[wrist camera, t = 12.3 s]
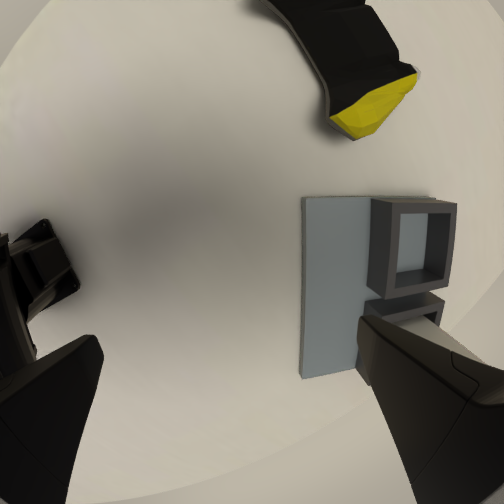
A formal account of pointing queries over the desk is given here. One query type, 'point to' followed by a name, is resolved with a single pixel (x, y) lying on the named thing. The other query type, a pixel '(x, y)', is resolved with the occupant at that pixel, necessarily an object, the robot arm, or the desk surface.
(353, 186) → the desk surface
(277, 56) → the desk surface
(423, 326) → the plug
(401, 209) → the board
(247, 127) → the desk surface
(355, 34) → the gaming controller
